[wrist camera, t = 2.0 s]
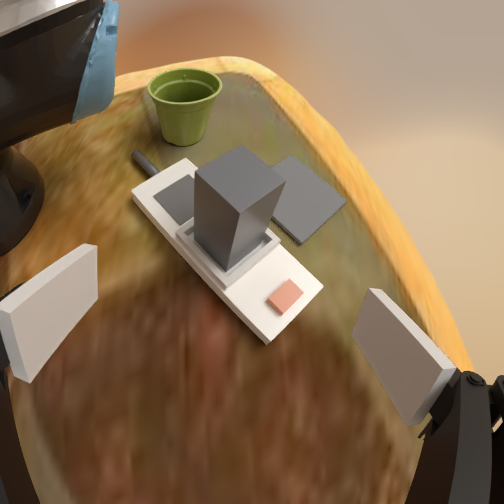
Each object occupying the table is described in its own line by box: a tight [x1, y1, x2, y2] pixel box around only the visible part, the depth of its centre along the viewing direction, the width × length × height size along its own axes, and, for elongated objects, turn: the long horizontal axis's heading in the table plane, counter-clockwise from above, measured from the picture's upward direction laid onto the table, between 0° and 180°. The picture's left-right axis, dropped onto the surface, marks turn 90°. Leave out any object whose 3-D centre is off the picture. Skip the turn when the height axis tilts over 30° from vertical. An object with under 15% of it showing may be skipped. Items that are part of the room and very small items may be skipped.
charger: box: [194, 145, 286, 272], centre depth 25 cm, size 5×5×10 cm
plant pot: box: [148, 68, 222, 146], centre depth 35 cm, size 9×9×9 cm
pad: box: [271, 155, 347, 245], centre depth 36 cm, size 10×10×1 cm
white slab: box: [131, 149, 323, 345], centre depth 31 cm, size 28×8×3 cm, turn 45°
